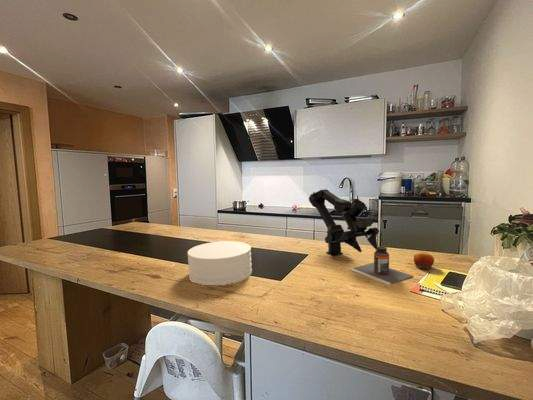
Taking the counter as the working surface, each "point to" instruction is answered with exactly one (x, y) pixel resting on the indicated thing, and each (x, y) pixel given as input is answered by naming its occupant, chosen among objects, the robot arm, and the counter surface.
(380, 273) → the supplement bottle
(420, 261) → the fruit
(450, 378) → the counter surface
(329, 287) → the counter surface
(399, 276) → the mat
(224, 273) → the plate stack
